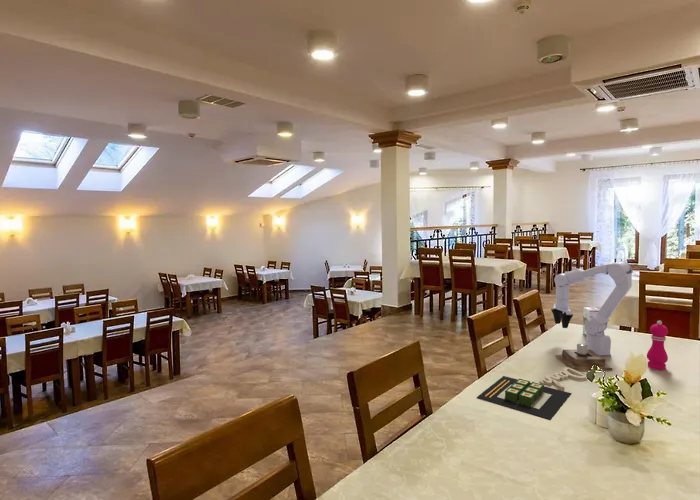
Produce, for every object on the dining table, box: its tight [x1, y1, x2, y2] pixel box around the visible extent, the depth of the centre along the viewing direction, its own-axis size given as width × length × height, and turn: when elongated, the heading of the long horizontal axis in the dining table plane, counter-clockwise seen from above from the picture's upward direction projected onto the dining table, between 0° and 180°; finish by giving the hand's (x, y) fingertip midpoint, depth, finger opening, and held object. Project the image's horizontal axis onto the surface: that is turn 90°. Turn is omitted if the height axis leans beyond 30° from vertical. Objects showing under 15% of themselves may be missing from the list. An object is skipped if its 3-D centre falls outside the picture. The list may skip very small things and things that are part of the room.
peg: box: [576, 343, 587, 357], centre depth 185 cm, size 4×4×7 cm
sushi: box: [476, 375, 572, 421], centre depth 155 cm, size 25×25×4 cm
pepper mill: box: [646, 320, 669, 371], centre depth 179 cm, size 7×7×20 cm
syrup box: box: [582, 306, 600, 336], centre depth 223 cm, size 6×6×14 cm
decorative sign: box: [539, 366, 587, 391], centre depth 169 cm, size 23×2×10 cm
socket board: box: [555, 349, 613, 371], centre depth 186 cm, size 16×16×4 cm
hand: (561, 325), depth 210 cm, fingers open, 7 cm apart
